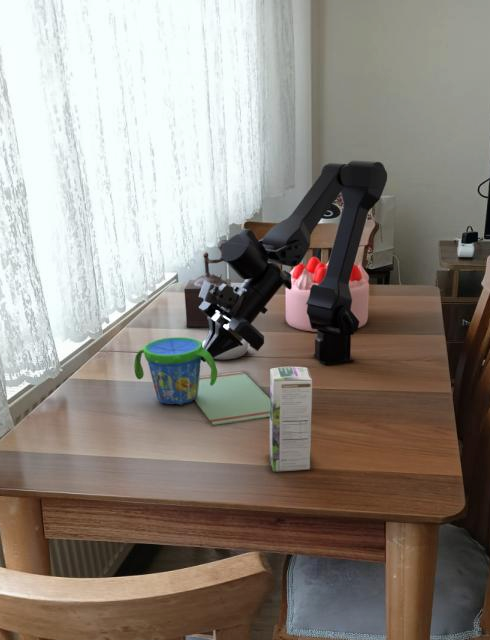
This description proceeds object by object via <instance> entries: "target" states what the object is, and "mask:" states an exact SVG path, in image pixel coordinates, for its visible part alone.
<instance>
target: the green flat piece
mask: <svg viewBox="0 0 490 640" xmlns="http://www.w3.org/2000/svg"><path fill="white" fill-rule="evenodd" d="M210 382H211V375H205V376H199V389H198V395H197V398H196V399H195V400H194V402H195V403H196V405H197V406H198V407H199V409H200V410H201V411H202V413H203V414H204V415H205V417H206V418H207V419H208V421H209V422H210V423H211V425H212V426H218V425H224V424H231V423H238V422H239V423H240V422H244V421H245V422H246V421H251V420H259V419H264V418H270V396H268V395H267V394H266V393H265V392H264V391H263V390H262V389H261V388H260V387H259V386H258V385H257V384H256V383H255V382H254V381H253V380H252V379H251V378H250V377H249V376H248V375H247V374H246V373H245V372H244V371H243V370H242V371H236V372H228V373H220V374H217V379H216V382H215V383H214V384H213V386H212V385H210Z"/></svg>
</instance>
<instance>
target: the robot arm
mask: <svg viewBox="0 0 490 640" xmlns="http://www.w3.org/2000/svg"><path fill="white" fill-rule="evenodd" d="M387 182H388V173H387V170H386V167H385V165H384V164H383V163H382V162H380V161H369V160H355V159H354V160H350V161H349V162H348V163H339V162H338V163H337V162H328V163H326V164H324V165H323V167H322V168H321V172H320V175H319V176H318V178H317V179H316V180H315V181H314V182H313V184H312V186H311V187H310V188H309V190H308V191H307V192H306V193H305V195H304V197H303V198H302V199H301V201H300V202H299V203H298V205H297V206H296V207H295V208H294V210H293V212H292V213H291V214H290V215H289V216H288V217H287V218H285V219H283V220H281V221H279V222H277V223H276V224H275V225H274V226H273V227H272V228H271V229H269V231H267V233H266V234H265V235H264V236H263V238H261V239H258V238H257V236H256V235H255V233H254V232H253V230H252V229H249V228H242V229H241V230H240V231H239V233H236V234H235V235H233V236H231V237H230V238H229V239H227V240H228V241H227V242H225V244H224V245H223V247H222V251H220V257H221V256H222V258H223V259H224V260H225V261H226V262H225V261H224V262H225V263H226V264H227V265H228V266H229V267H230V268H231V270H233V271H234V272H235V273H236V274H237V275H238V276H239V277H240V278H241V279H242V280H244V281H243V282H242V284H241V285H238V284H236V285H235V284H234V285H233V286H232V285H231V286H228V285H226V284H224V283H223V284H222V285H221V286H219V285H216V284H213V283H211V282H208V281H205V280H204V283H203V286H202V288H201V291H200V294H199V298H203V299H204V301H203V302H202V304H201V305H200V306H199V308H200V309H201V310H202V311H203V312H204V313H205V314H206V315H208V316H209V317H208V318H207V319H208V320H209V327H210V328H209V331H208V334H207V337H206V339H205V340H206V341H205V344H204V346H203V348H204V349H205V350H207V351H208V352H209V353H210V355H211V356H212V357H213V358H214V357H216V356H218V355H220V354H222V353H224V352H226V351H228V350H231V349H233V348H235V347H238V346H242V345H243V344H242V343H241V341H242V339H244V340H245V341H246V342H247V343H248V345H249V347H250V348H252V349H253V350H255V351H256V352H259V350H260V349H261V348H262V347H263V345H264V344H265V335H264V334H262V333H261V332H260V331H259V330H258V329H257V328H256V327H255V326H254V325H253V324H252V323H253V322H254V321H255V320H256V318H257V317H258V316H259V315H260V314H263V315H265V314H266V313H267V312H268V308H267V307H266V306H267V305H268V303H269V302H270V301H271V300H272V299H273V297H274V296H275V295H276V294H277V292H278V291H279V290H280V289H281V287H282V286H283V287H284V288H285V289H286V288H288V289H291V288H292V282H291V276H292V275H291V274H290V272H289V271H287V270H285V269H284V270H282V268H281V267H280V266H278V265H281V266H287V267H296V266H297V265H299V264H300V263H302V261H303V260H304V258H305V256H306V255H307V253H308V251H309V248H310V247H311V237H312V236H311V235H312V233H313V232H314V230H315V229H316V227H317V226H318V225H319V223H320V222H321V220H322V219H323V218H324V216H325V215H326V213H327V212H328V210H329V209H330V208H331V207H332V205H333V203H335V201H336V200H337V198H338V196H339V195H341V199H342V204H343V206H342V211H341V215H340V218H339V222H338V224H337V225H338V226H337V229H336V233H335V237H334V241H333V244H332V248H331V252H330V254H329V255H330V256H329V259H328V261H329V263H328V262H327V263H328V267H327V270H326V274H325V277H324V279H323V280H322V281H321V282H320V284H319V285H315V284H313V285H312V287H311V289H310V295H309V298H308V301H307V302H306V304H307V305H308V306H307V314H308V317H309V320H310V324H311V328H312V329H317V332H316V335H317V336H316V337H315V338H314V354H313V358H315V359H316V360H317V361H319V362H320V363H322V364H323V365H325V366H331V365H337V364H345V363H352V362H354V360H355V358H353V357H352V356H351V347H352V346H351V345H352V336H353V335H354V334H355V333H357V332H358V330H359V328H358V326H359V320H358V319H357V318H356V316H355V315H354V314H353V313H352V311H351V304H352V297H351V293H350V289H349V281H350V277H351V273H352V270H353V266H354V264H355V262H356V258H357V254H358V252H359V248H360V245H361V240H362V236H363V232H364V229H365V225H366V221H367V218H368V214H369V213H370V210H372V208H374V206H375V205H377V203H378V202H379V201H380V199H381V198H382V195H383V193H384V190H385V187H386V184H387ZM201 362H203V363H207V362H206V361H205V359H204V358H203V357H202V358H201Z"/></svg>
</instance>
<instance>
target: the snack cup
mask: <svg viewBox="0 0 490 640" xmlns="http://www.w3.org/2000/svg"><path fill="white" fill-rule="evenodd" d="M202 344H203V342H201V341H200V340H198V339H195V338H192V337H185V336H183V337H181V336H177V337H176V336H175V337H166V338H160V339H156V340H153V341H151V342H149V343H147V344H145V345H144V347H142V348H141V349H140V350H139V351H138V352H137V353H136V355H135V358H134V368H133V369H134V375H135V377H136V379H137V380H142V379H143V378H144V376H145V375H144V374H145V372H144V368H143V365H142V363H141V361H142V355H144V358H145V360H146V361H147V364H148V367H149V372H150V376H151V380H152V383H153V388H154V391H155V394H156V397H157V400H158V401H159V402H160V403H161V404H167V405H175V404H176V405H179V406H182V405H183V404H187V403H191V402H192V401H195V399H196V398H197V395H198V389H199V377H201V375H200V374H201V363H202V360H201V358H202V357H203V358H204V359H205V361H206V362H205V363H207V365H208V366H209V368H210V376H211V382H210V385H212V386H213V384H214V383H215V382H216V379H217V375H218V369H217V365H216V362H215V359H213V357H212V356H211V355H210V353H209V352H208V351H207V350H205V349H204V348H203V347H202Z"/></svg>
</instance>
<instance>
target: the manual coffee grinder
mask: <svg viewBox="0 0 490 640" xmlns="http://www.w3.org/2000/svg"><path fill="white" fill-rule="evenodd" d="M228 240H229V239H222V240H220V241H219V242H218V243H217V248H218V250H219V251H220V252H221V251H222V247H223V245H224V244H225V242H227V241H228ZM202 257H203V258H202V259H203V263H204V274H203V275H201V276H199V277H197V278H195V279H189V281H188V282H187V284H186V286H185V287H184V291H183V292H184V302H185V303H184V304H185V318H186V328H191V329H192V328H195V329H196V328H199V329H201V328H202V329H203V328H204V329H205V328H206V329H207V328H208V329H210V327H209V320H208V319H207V318H208V317H209V316H208V315H206V314H205V313H204V312H203V311H202V310H201V309H200V308H199V306H200V305H201V304H202V302H203V301H204V299H203V298H199V294H200V291H201V288H202V286H203V283H204V280H205V281H208V282H211V283H213V284H216V285H219V286H221V285H222V284H223V283H224V284H226V285H228V286H231V287H232V285H231V282H232V280H231V278H222V276H223V274H220V276H218V275H216V274H214V273H212V274H211V273H210V269H209V267H210V266H209V264H219V263H222V262H224V263H227V262H226V261H225V260H224V259H223V258H222V256H221V255H220V257H219V258H218V259H210V258H209V253H208V252H203V254H202Z"/></svg>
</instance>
